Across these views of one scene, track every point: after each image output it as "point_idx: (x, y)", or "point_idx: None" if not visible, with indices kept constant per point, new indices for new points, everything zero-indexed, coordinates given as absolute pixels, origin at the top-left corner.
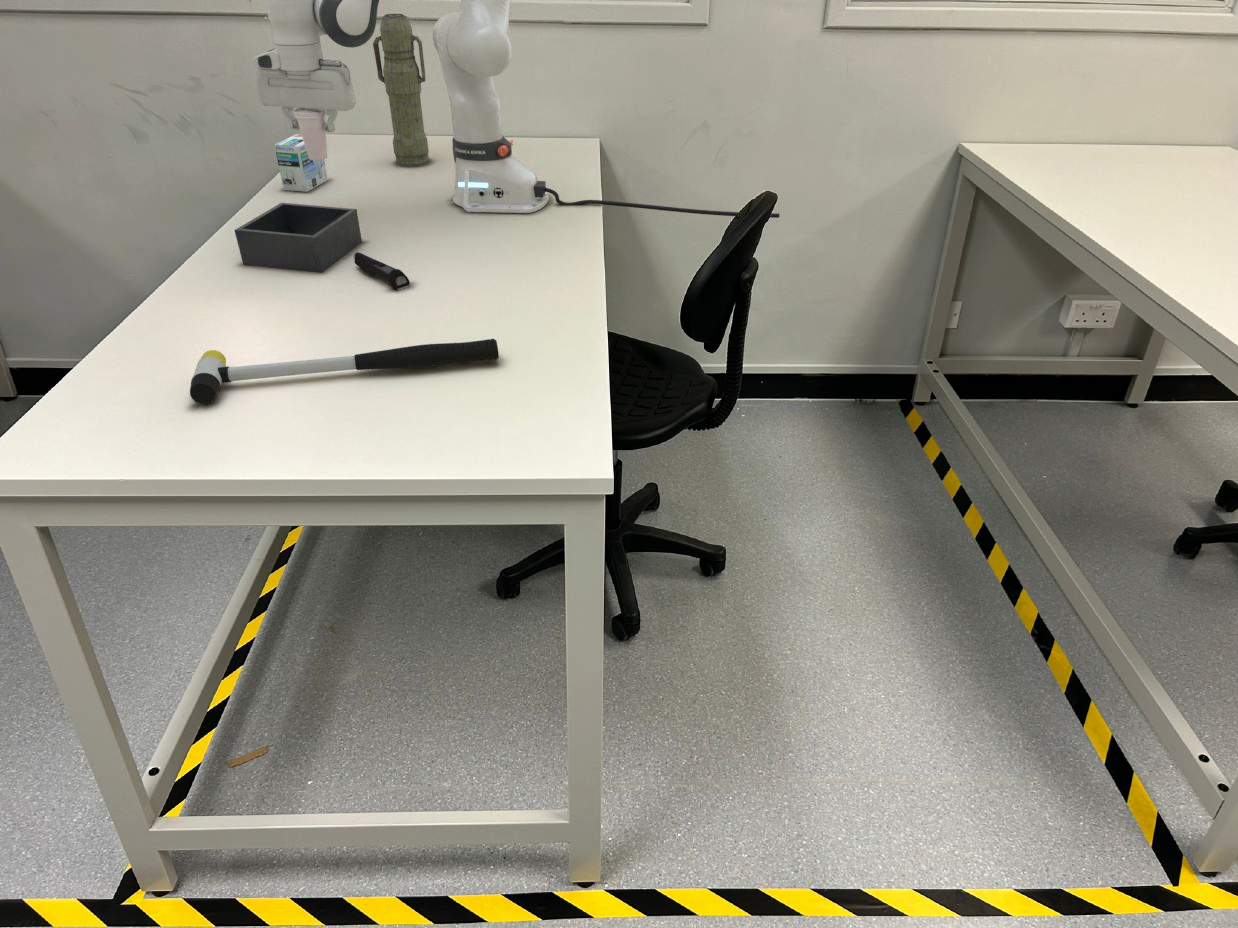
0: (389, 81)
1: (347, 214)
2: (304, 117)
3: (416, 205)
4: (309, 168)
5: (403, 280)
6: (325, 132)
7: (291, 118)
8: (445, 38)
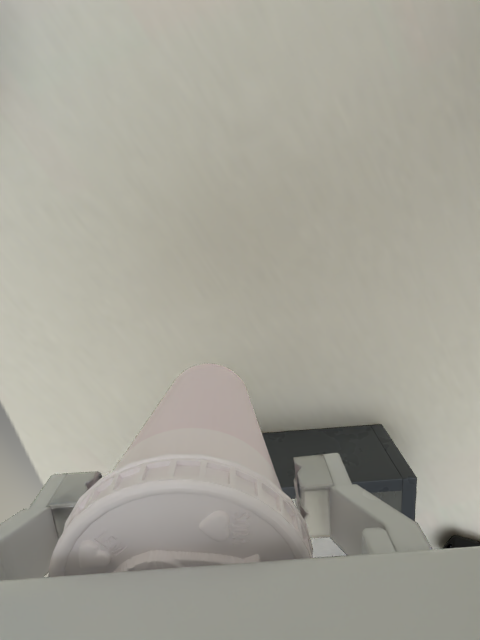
0: None
1: (411, 519)
2: None
3: (406, 97)
4: None
5: None
6: (267, 451)
7: (45, 563)
8: None
